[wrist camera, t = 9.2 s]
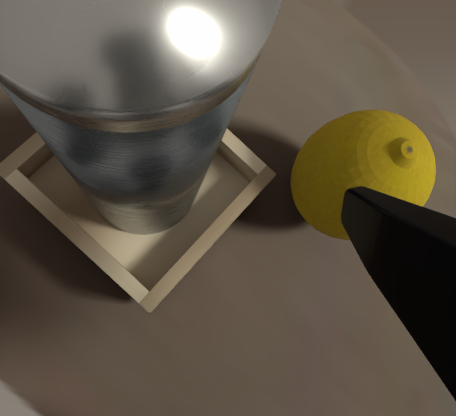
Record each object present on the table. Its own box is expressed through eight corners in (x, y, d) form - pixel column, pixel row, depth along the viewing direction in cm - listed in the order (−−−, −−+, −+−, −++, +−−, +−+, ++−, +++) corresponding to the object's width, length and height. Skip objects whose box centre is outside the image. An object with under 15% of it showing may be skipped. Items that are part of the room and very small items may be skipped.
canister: (218, 181, 19) (345, -30, 6) (146, 257, 17) (120, 184, 5) (143, 112, 19) (117, -240, 6) (65, 183, 17) (-165, -79, 5)
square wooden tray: (256, 191, 21) (276, 174, 18) (150, 308, 19) (149, 313, 16) (140, 84, 21) (138, 45, 18) (21, 189, 19) (-7, 168, 16)
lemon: (301, 130, 22) (378, 48, 15) (382, 183, 23) (500, 131, 15) (252, 211, 21) (309, 169, 13) (339, 267, 21) (445, 258, 13)
